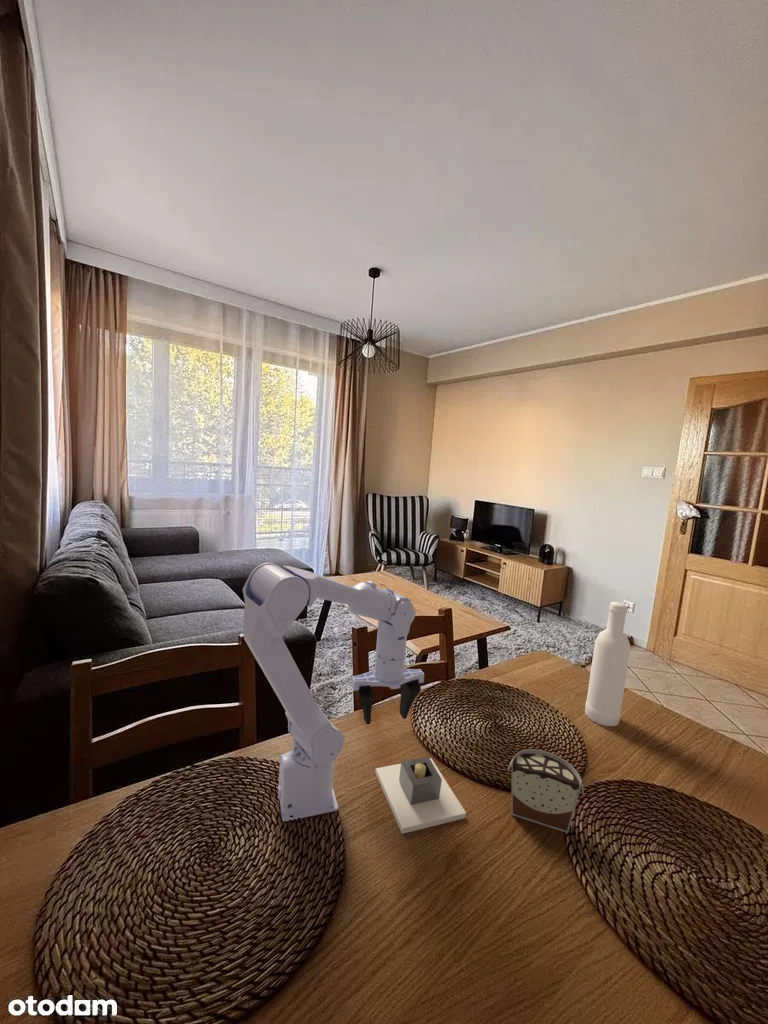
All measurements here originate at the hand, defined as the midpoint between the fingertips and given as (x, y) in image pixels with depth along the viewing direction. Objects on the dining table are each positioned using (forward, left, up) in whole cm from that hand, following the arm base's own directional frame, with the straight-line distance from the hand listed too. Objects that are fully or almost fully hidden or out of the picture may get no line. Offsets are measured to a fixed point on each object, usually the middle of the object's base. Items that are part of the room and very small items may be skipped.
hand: (385, 718), depth 84 cm
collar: (+4, -9, -9) cm, 13 cm away
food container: (+24, -18, -10) cm, 32 cm away
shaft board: (+4, -9, -10) cm, 14 cm away
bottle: (+60, +2, -10) cm, 61 cm away
